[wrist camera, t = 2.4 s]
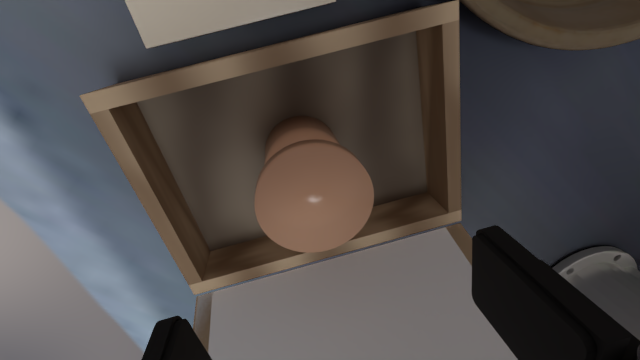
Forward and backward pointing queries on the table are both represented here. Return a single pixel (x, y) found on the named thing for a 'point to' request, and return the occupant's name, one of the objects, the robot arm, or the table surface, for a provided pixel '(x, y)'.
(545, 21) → the plant saucer
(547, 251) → the table surface
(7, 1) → the table surface
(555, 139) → the table surface
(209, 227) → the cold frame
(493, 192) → the table surface
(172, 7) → the sandstone tile
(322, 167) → the tan rounded knob
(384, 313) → the lid
